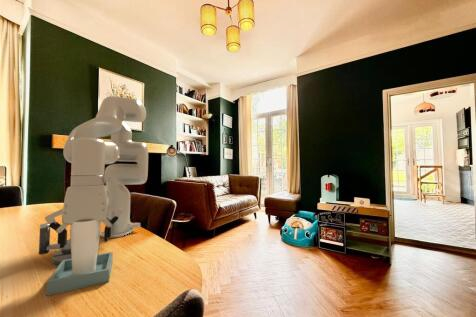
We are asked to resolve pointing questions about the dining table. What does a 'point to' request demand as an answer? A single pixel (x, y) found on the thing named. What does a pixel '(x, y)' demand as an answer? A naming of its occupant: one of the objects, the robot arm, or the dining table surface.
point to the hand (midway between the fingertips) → (85, 243)
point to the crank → (45, 241)
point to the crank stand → (60, 257)
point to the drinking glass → (84, 246)
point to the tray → (79, 275)
